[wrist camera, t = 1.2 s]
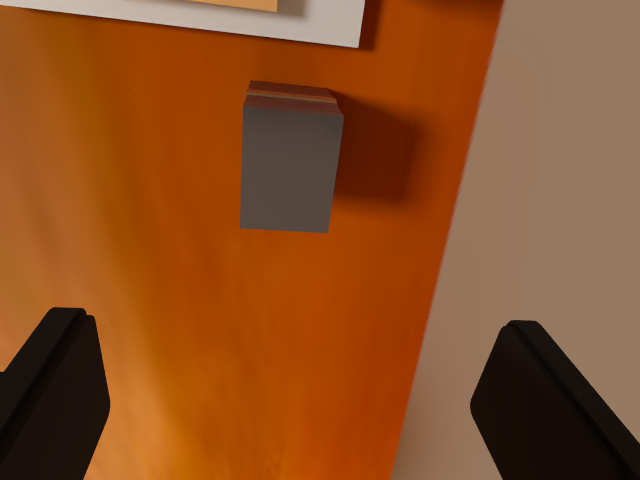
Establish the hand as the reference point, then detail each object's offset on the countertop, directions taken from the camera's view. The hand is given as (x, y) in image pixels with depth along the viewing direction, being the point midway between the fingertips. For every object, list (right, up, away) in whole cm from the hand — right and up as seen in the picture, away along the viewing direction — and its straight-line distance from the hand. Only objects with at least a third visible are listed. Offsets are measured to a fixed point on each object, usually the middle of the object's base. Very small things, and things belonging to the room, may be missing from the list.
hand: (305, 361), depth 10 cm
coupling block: (-2, +9, +16) cm, 19 cm away
